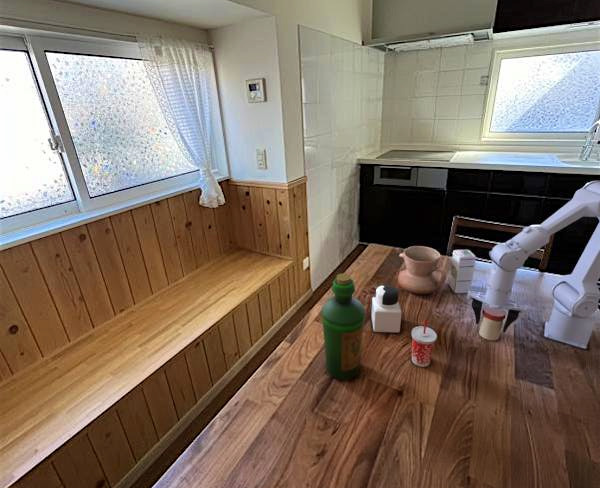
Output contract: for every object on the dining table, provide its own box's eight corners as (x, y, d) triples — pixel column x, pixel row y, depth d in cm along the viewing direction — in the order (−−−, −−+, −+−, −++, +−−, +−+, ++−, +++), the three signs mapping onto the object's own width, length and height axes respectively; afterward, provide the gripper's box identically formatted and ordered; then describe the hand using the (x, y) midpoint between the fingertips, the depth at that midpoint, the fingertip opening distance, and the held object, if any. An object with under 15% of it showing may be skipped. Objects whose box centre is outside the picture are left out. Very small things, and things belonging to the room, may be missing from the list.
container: (395, 317, 108) (398, 282, 102) (399, 333, 101) (403, 296, 95) (371, 316, 108) (372, 282, 103) (373, 332, 101) (375, 296, 96)
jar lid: (507, 313, 95) (508, 309, 95) (502, 323, 92) (503, 319, 91) (485, 306, 99) (486, 302, 98) (479, 315, 95) (480, 311, 95)
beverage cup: (412, 369, 88) (417, 325, 82) (406, 352, 93) (410, 310, 87) (436, 369, 87) (442, 325, 82) (428, 352, 93) (434, 310, 87)
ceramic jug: (386, 285, 125) (388, 251, 119) (409, 272, 133) (413, 240, 127) (430, 307, 112) (435, 269, 106) (453, 290, 120) (458, 255, 114)
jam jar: (499, 331, 99) (504, 310, 96) (498, 342, 95) (504, 320, 92) (479, 326, 101) (484, 306, 98) (478, 337, 97) (482, 315, 94)
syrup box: (470, 293, 118) (477, 256, 112) (453, 293, 118) (459, 256, 112) (463, 284, 123) (470, 249, 117) (447, 285, 123) (452, 249, 118)
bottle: (362, 387, 83) (366, 291, 72) (319, 381, 85) (317, 287, 74) (363, 356, 93) (367, 267, 81) (325, 352, 95) (323, 264, 83)
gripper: (467, 285, 93) (460, 325, 98) (529, 301, 85) (518, 343, 90) (473, 274, 98) (466, 312, 103) (532, 288, 90) (521, 329, 95)
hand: (490, 326), depth 97 cm, fingers open, 6 cm apart
